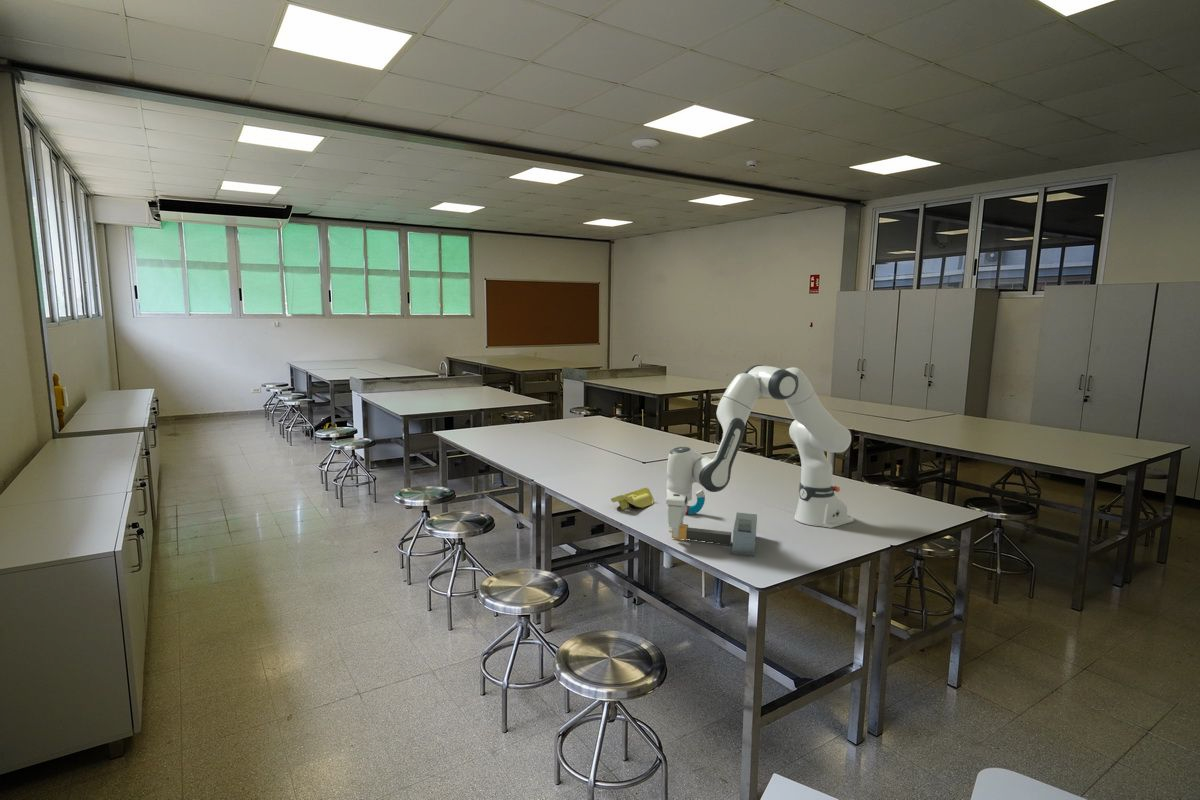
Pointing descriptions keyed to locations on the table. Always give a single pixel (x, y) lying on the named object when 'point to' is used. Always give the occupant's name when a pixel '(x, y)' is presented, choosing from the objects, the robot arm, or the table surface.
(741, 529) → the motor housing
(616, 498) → the plastic component
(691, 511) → the magnet
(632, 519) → the table surface
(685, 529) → the plug
